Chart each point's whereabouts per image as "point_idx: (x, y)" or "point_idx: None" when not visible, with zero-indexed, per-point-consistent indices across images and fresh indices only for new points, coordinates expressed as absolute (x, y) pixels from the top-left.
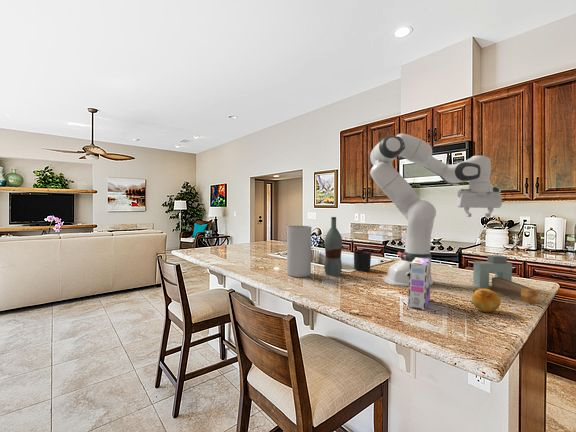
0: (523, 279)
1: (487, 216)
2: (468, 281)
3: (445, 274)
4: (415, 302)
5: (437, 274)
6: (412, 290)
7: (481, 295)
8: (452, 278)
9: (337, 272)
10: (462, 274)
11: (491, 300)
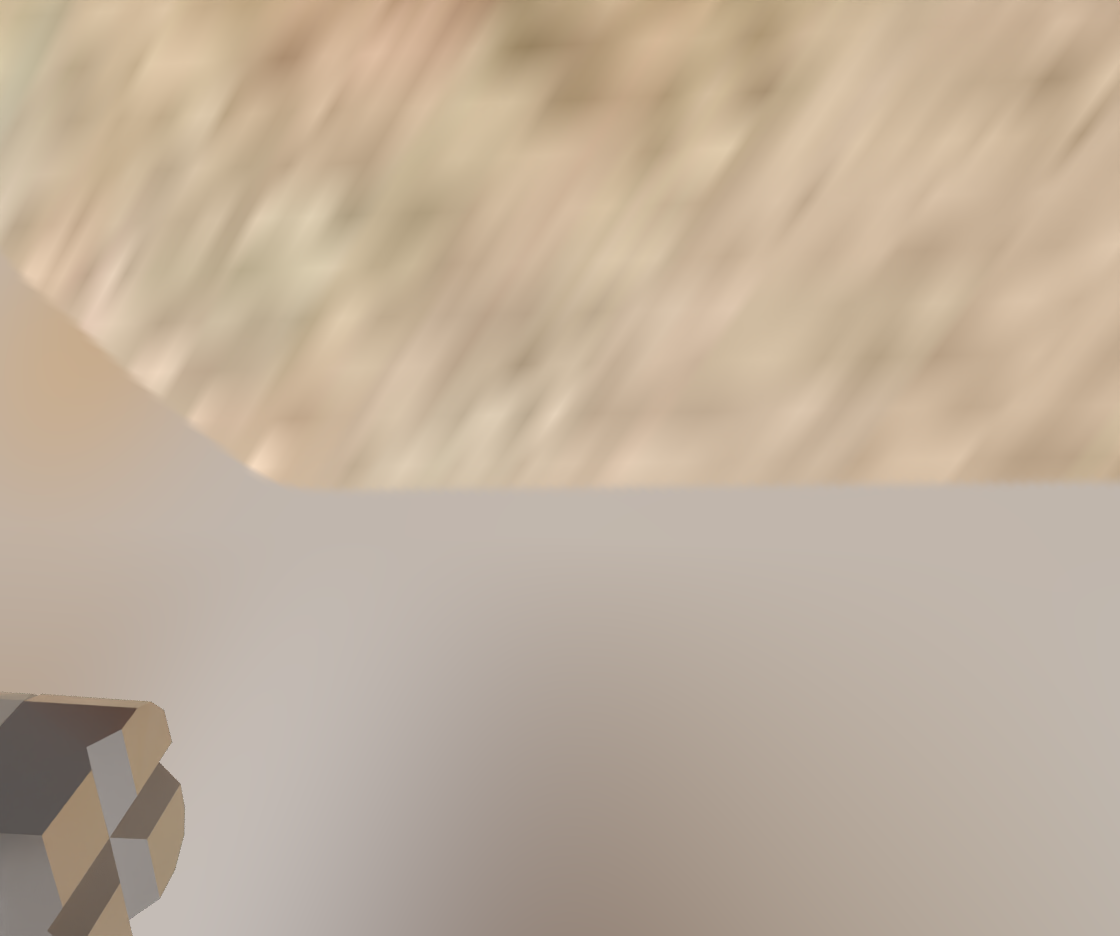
0: (13, 219)
1: (145, 713)
2: (825, 80)
3: (889, 452)
4: None
5: (1003, 451)
6: None
7: None
8: (942, 241)
9: None
10: (656, 455)
11: None
